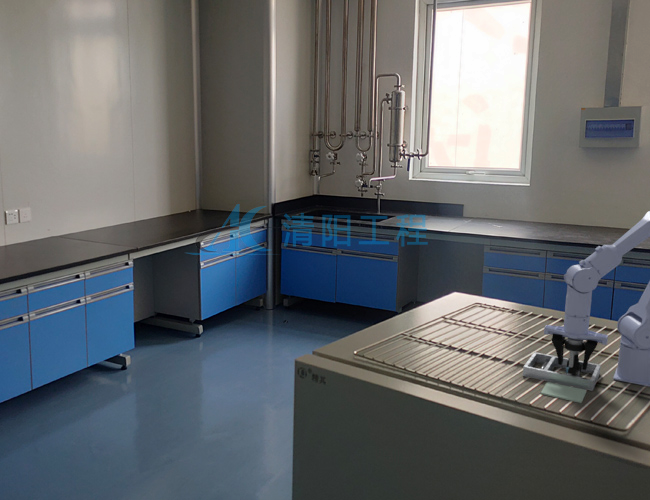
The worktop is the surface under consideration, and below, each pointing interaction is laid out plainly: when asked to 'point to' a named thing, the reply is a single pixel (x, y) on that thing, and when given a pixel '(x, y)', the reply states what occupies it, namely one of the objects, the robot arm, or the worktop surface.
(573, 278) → the robot arm
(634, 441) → the worktop surface
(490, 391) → the worktop surface
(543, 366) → the rod
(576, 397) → the mat
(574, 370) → the push button
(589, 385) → the grey divided frame
